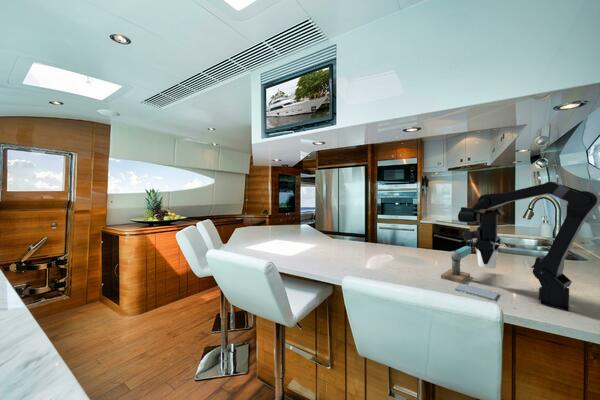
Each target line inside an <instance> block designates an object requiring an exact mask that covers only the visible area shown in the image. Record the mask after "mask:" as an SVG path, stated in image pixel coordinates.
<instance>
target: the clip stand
mask: <svg viewBox="0 0 600 400" xmlns="http://www.w3.org/2000/svg"><path fill="white" fill-rule="evenodd" d="M470 277H471V273H470V272H469V273H468V272H465V271H461V260H460V261H458V260H453V259H451V268H450V269H448V270H446V271H444V272H443V273H441V275H440V279H443V280H446V281H450V282H456V283H459V284H461V283H462V284H464V283H465V282H466V281H467V280H468V279H470Z"/></svg>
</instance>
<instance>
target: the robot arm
mask: <svg viewBox="0 0 600 400" xmlns="http://www.w3.org/2000/svg"><path fill="white" fill-rule="evenodd" d="M546 195H552V196H554V197H556V198H559V199H561V200H563V201H566V202H567V204H566V211H565V213H566V215H565V218H564V221H563V222H562V225H561V226H560V228H559V229H558V232H557V234H556V236H555V238H554V239H553V242H552V243H551V246H550V248H549V249H548V252H547V253H546V255H539V256H537V257H535V261H534V264H533V265H532V266H530V268H531V269H532V274H533V276H534V277H535V278H536V279H537V280H538V282H539V284H540V286H539V288H538V300H539V303H540V304H541V305H544V306H549V307H553V308H557V309H561V310H564V311H570V288H569V287H570V286H571V285H572V282H573V281H572V280H571V279H570V278H569V277H567V276H566V274H564V267H565V258H566V256H567V255H568V253H569V251H570V248H571V247H572V245H573V243H574V242H575V240H576V238H577V236H578V234H579V233H580V230H581V228H582V227H583V225H584V222H585V221H586V220H587V219H589V218H590V216H592V215H593V213H594V212H595V211H596V210H597V209H598V208H599V207H600V194H599V193H598V192H595V191H591V190H590V191H589V190H578V189H576V188H573V187H570V186H566V185H563V184H561V183H559V182H556V181H547V182H545V183H540V184H537V185H532V186H528V187H523V188H521V189H520V188H519V189H516V190H511V191H506V192H498V193H488V194H482V195H479V197H478V199H477V202H476V203H475V204H474V205H473V206H472V207H467V206H461V207H460V210H459V211H458V214H457V219H458V221H459V223H465V224H477V223H478V225H479V226H478V227H477V229H476V230H470V229H467V230H464V231H463V233H462V237H463V239H464V241H469V240H472V239H473V240H474V239H476V240H474V241H473V242H472V248H475V249H476V250H477V249H478V250H479V251H480V253H481V256H482V260H483V263H484V264H486V265H487V264H488V262H489V260H490V258H491V256H492V254H493V252H494V250H497V251H498V249H499V247H500V245H501V244H502V238H501V237H500V236H498V231H499V227H498V220H499V219H498V218H499V217H498V216H502V215H505V214H506V213H505V211H502V209H500V208H498V207H502V206H504V205H506V204H509V203H511V202H516V201H522V200H527V199H531V198H535V197H540V196H546ZM495 208H496V209H495Z"/></svg>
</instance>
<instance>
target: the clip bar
mask: <svg viewBox="0 0 600 400" xmlns="http://www.w3.org/2000/svg"><path fill="white" fill-rule="evenodd" d="M450 254H451V256H450V257H451V260H452V259H453V260H458V261H460V262H461V261H462V259H464V258H465V257H467V256H469V255H471V254H472V247H471V246H469V245H465V246H463V247H460V248H458V249H456V250H451V253H450Z"/></svg>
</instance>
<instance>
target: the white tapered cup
mask: <svg viewBox="0 0 600 400" xmlns="http://www.w3.org/2000/svg"><path fill="white" fill-rule="evenodd" d="M476 252H477V253H476V255H477V265H478V266H479V267H481V268H484V269H497V261H498V256H499V255H498V254H499V250H498V249H497V250H494V252H493V254H492V256H491V258H490V260H489V262H488V264H487V265H486V264H484V263H483V260H482V256H481V253H480V251H479V250H478V249H476Z"/></svg>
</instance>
